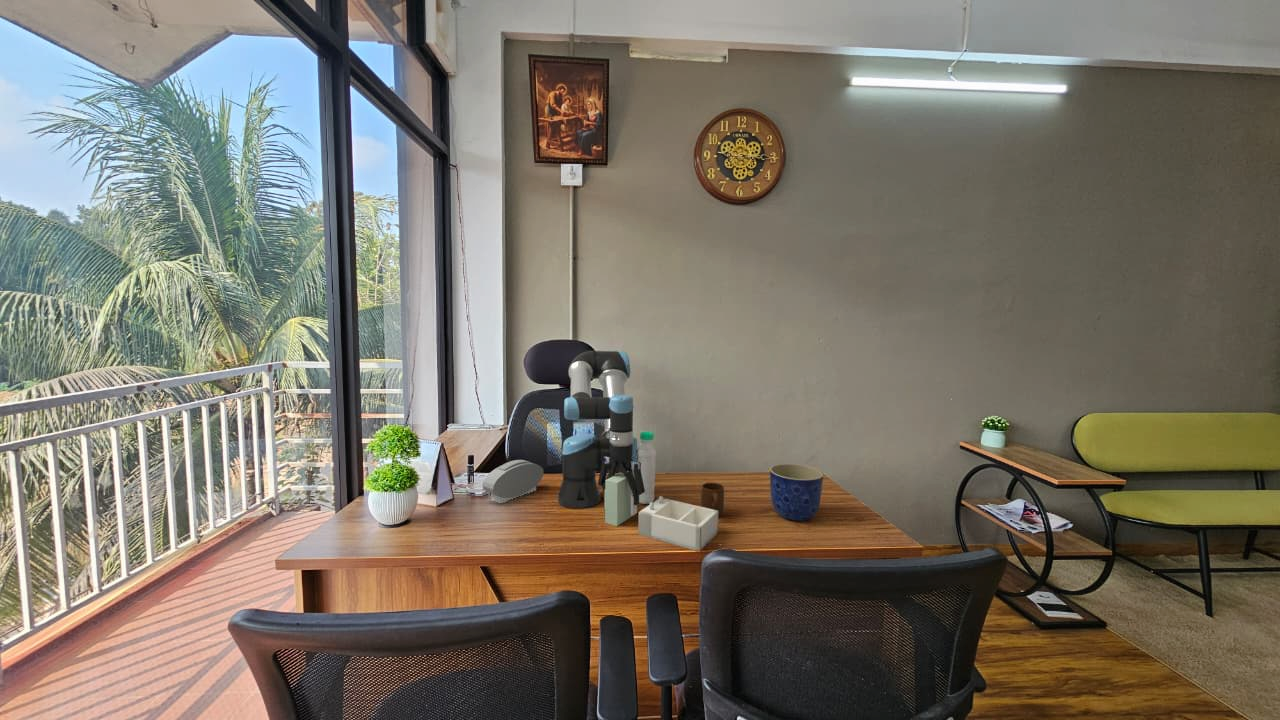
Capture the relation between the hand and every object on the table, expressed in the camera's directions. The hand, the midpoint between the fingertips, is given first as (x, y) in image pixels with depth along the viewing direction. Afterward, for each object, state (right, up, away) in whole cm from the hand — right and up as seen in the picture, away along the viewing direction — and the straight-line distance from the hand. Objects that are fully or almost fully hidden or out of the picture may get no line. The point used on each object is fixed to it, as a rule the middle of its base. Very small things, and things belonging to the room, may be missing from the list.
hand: (620, 510), depth 154 cm
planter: (+58, -3, +4) cm, 58 cm away
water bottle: (+8, -1, +15) cm, 17 cm away
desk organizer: (+18, -4, -10) cm, 21 cm away
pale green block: (0, -3, 0) cm, 3 cm away
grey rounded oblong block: (-40, -1, +19) cm, 44 cm away
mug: (+31, -3, +3) cm, 31 cm away
